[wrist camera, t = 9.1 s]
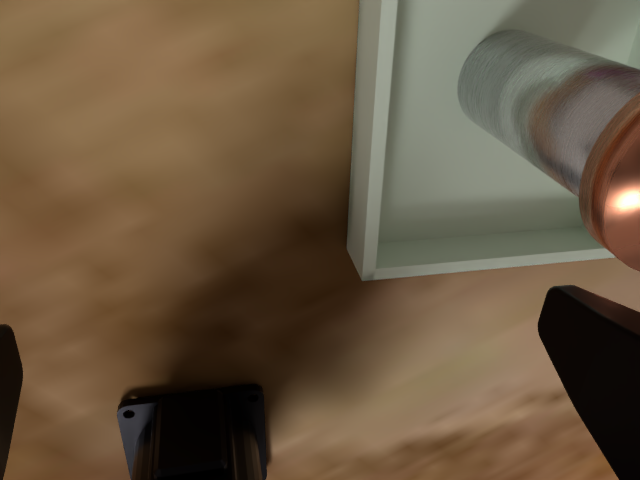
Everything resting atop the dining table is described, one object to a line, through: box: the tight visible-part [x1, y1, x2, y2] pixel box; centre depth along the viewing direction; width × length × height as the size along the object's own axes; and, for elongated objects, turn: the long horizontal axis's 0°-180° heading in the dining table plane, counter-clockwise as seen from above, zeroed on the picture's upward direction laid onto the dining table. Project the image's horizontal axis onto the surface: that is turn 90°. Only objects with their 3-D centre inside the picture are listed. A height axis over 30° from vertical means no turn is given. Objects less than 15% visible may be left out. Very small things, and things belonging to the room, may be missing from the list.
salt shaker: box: [457, 29, 640, 271], centre depth 17 cm, size 5×5×10 cm
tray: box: [347, 0, 640, 281], centre depth 20 cm, size 14×11×2 cm
